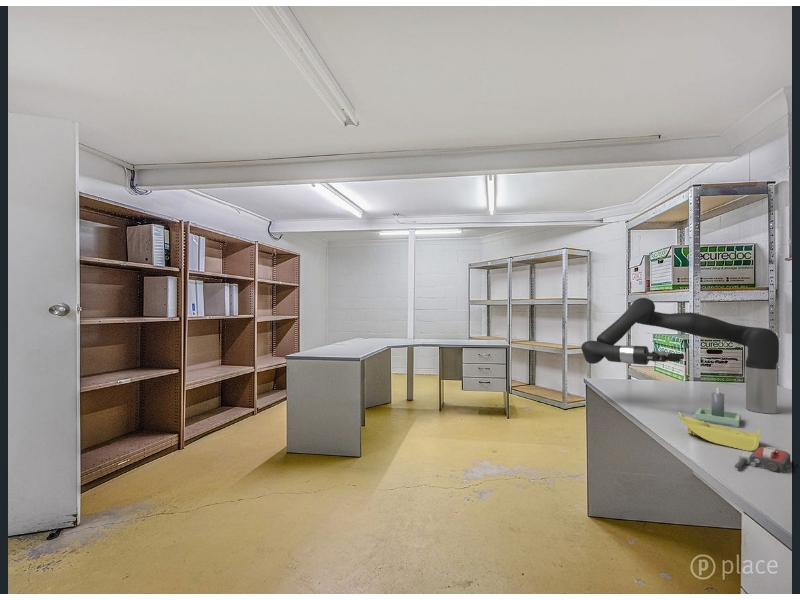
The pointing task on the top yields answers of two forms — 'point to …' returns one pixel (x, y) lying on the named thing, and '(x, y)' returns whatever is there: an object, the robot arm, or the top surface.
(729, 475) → the top surface
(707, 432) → the plastic component
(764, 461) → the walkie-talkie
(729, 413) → the tray
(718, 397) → the grey bottle white cap
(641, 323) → the robot arm
